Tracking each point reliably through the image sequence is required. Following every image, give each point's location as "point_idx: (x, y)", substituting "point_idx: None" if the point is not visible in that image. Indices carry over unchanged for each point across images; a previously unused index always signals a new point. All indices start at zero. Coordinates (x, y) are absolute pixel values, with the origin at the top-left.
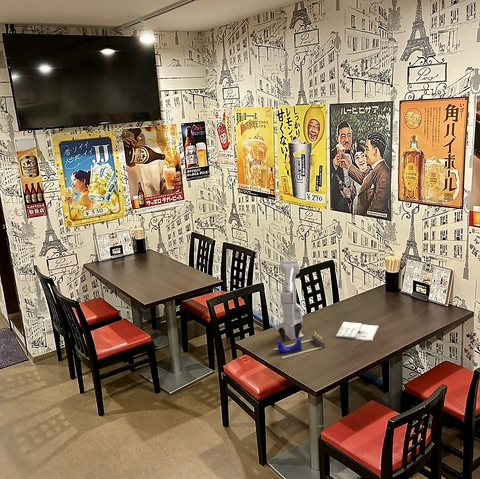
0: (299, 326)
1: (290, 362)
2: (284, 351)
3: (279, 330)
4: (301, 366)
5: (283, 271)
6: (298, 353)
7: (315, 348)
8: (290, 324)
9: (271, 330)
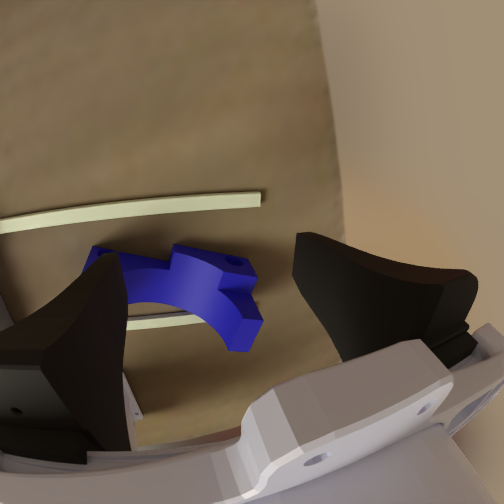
0: (12, 371)
1: (234, 119)
2: (215, 259)
3: (463, 323)
4: (193, 32)
5: None
6: (128, 204)
7: (7, 226)
8: (404, 461)
9: (186, 436)
